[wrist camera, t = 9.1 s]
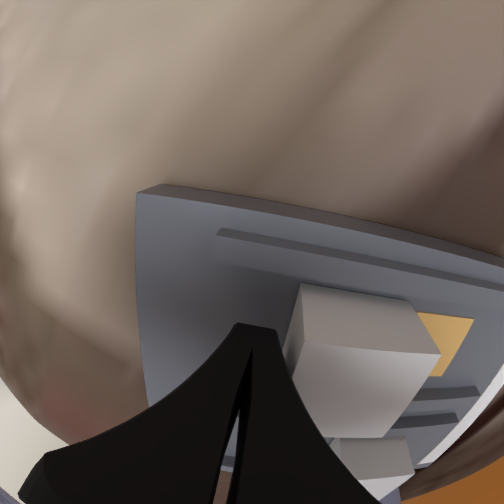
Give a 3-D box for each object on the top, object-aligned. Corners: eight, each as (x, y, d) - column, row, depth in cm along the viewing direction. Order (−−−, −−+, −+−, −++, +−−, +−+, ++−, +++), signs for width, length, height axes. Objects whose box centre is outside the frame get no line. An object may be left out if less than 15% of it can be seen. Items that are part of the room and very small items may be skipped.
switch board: (422, 448, 15) (429, 474, 13) (165, 425, 16) (153, 455, 14) (537, 270, 10) (566, 292, 7) (160, 183, 11) (124, 197, 8)
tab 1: (369, 381, 10) (382, 437, 8) (276, 370, 11) (270, 431, 8) (408, 300, 9) (441, 354, 6) (300, 282, 9) (304, 341, 6)
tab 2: (372, 463, 13) (377, 501, 10) (314, 464, 13) (314, 504, 10) (403, 431, 12) (414, 474, 9) (338, 432, 12) (342, 480, 9)
